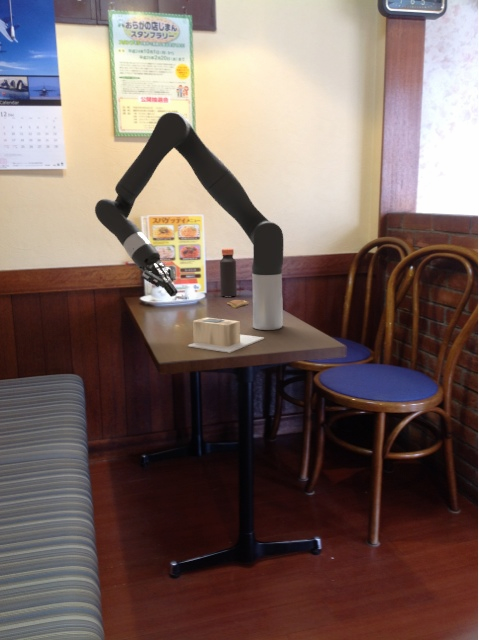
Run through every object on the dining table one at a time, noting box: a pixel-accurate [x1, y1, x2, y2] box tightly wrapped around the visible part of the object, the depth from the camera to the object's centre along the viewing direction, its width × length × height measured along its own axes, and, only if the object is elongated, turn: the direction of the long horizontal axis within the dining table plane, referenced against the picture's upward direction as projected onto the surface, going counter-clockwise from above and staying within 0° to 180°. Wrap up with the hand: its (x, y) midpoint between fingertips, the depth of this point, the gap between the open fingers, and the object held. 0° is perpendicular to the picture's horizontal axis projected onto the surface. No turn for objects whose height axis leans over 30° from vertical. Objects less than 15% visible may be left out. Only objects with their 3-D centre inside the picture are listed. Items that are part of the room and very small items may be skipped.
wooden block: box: [192, 317, 241, 347], centre depth 161 cm, size 6×6×12 cm
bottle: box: [219, 248, 238, 297], centre depth 242 cm, size 7×7×20 cm
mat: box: [187, 333, 265, 354], centre depth 162 cm, size 18×14×1 cm
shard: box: [226, 299, 250, 309], centre depth 222 cm, size 11×8×2 cm
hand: (174, 294), depth 167 cm, fingers closed
